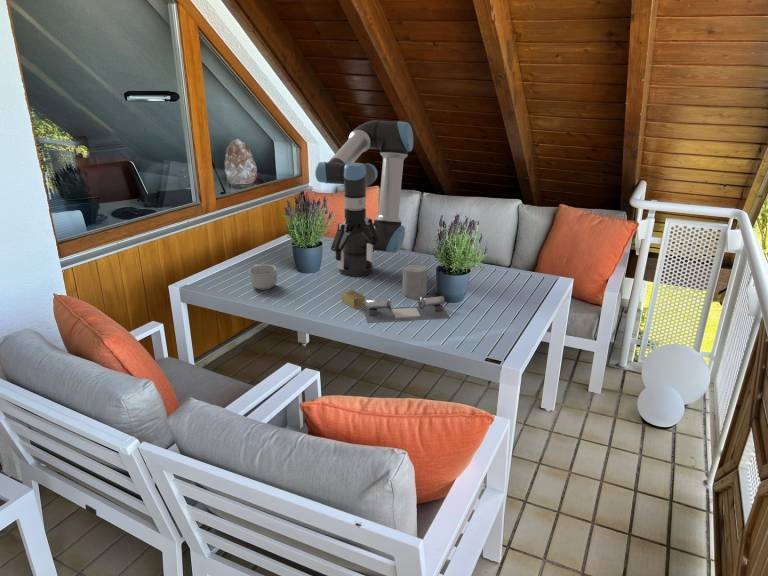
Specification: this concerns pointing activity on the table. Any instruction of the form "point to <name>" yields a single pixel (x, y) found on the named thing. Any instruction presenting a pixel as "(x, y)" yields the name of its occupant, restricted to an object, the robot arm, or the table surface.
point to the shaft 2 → (432, 303)
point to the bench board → (389, 316)
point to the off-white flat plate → (406, 312)
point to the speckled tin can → (414, 281)
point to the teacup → (263, 276)
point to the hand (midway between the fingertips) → (355, 264)
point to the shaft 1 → (377, 306)
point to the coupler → (353, 299)
